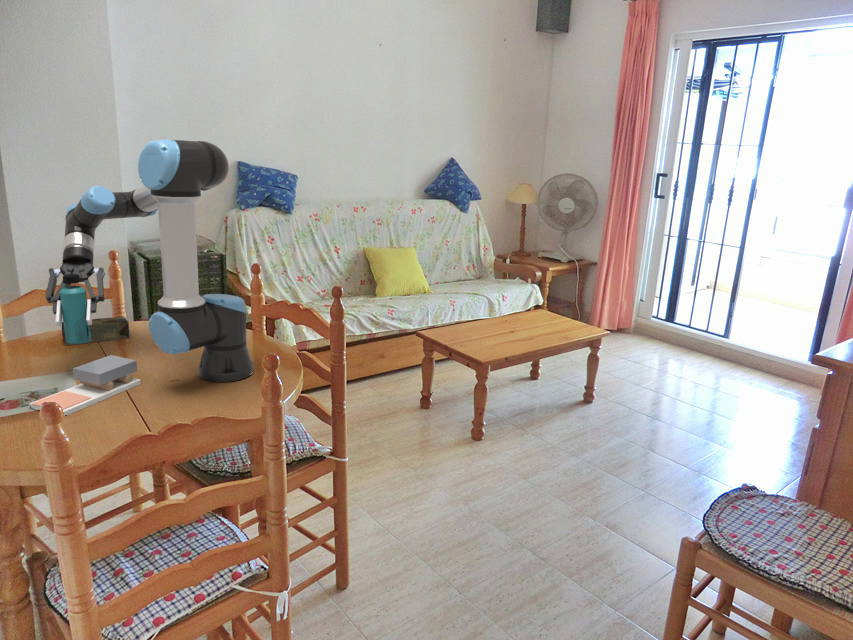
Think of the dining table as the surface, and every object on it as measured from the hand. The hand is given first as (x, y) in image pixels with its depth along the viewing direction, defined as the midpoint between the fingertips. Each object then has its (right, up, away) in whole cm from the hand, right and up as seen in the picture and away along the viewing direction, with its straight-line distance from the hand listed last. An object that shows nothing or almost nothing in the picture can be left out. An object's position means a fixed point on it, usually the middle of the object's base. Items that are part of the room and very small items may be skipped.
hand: (73, 323), depth 164 cm
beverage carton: (-14, -6, +38) cm, 41 cm away
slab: (+9, -14, -1) cm, 17 cm away
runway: (+7, -19, -5) cm, 21 cm away
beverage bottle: (-2, -6, +5) cm, 8 cm away
